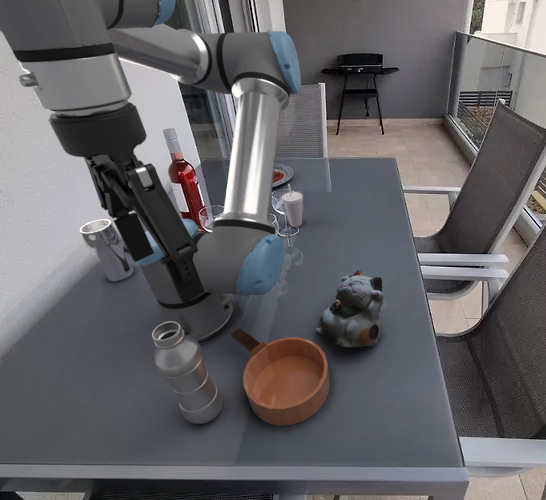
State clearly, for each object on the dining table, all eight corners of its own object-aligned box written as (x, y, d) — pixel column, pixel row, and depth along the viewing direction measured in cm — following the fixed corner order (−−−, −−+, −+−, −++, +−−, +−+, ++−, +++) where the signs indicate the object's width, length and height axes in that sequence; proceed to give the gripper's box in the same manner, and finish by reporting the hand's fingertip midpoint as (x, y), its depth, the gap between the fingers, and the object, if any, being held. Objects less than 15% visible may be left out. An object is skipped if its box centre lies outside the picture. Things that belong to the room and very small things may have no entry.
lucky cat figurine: (307, 324, 75) (317, 261, 73) (354, 322, 81) (365, 265, 79) (339, 356, 63) (353, 282, 61) (392, 352, 69) (406, 284, 67)
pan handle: (231, 343, 69) (227, 334, 67) (244, 333, 71) (241, 324, 69) (257, 365, 64) (254, 356, 63) (270, 353, 66) (268, 344, 65)
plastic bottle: (214, 432, 57) (173, 352, 45) (177, 425, 58) (129, 345, 47) (232, 397, 62) (200, 316, 50) (198, 391, 63) (159, 311, 52)
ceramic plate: (264, 164, 156) (262, 157, 154) (307, 175, 143) (306, 168, 141) (216, 185, 139) (214, 178, 137) (259, 200, 126) (258, 192, 124)
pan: (232, 392, 63) (226, 375, 60) (292, 342, 71) (288, 325, 69) (286, 444, 55) (281, 427, 52) (345, 380, 64) (344, 363, 61)
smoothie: (282, 227, 110) (274, 186, 102) (292, 217, 115) (286, 177, 107) (300, 230, 108) (294, 188, 100) (309, 220, 112) (304, 180, 104)
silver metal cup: (141, 269, 94) (118, 221, 86) (117, 285, 89) (90, 236, 81) (124, 263, 97) (99, 216, 88) (100, 278, 92) (72, 230, 83)
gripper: (13, 100, 38) (100, 255, 51) (96, 138, 25) (188, 337, 37) (88, 87, 43) (151, 232, 55) (192, 115, 29) (246, 299, 42)
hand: (166, 275), depth 46 cm, fingers open, 13 cm apart
